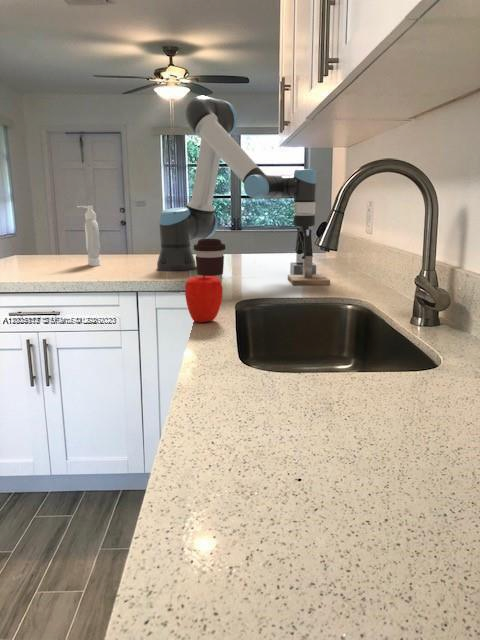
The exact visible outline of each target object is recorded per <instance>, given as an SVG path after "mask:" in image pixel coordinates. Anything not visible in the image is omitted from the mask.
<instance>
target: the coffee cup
mask: <svg viewBox="0 0 480 640" xmlns="http://www.w3.org/2000/svg"><path fill="white" fill-rule="evenodd" d="M197 241H198V242H197V243H196V244H194V245H193V250H194V251H195V267H196V273H197V277H200V276H214V277H217V278H218V279H220V281H221V284H222V285H223V275H224V264H225V263H224V261H225V260H224V259H225V256H224V252H225V250H226V244H225V243H222V241H221V239H219V238H204V239H198V240H197Z"/></svg>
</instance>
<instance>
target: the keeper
mask: <svg viewBox="0 0 480 640" xmlns="http://www.w3.org/2000/svg"><path fill="white" fill-rule="evenodd" d="M312 263H313V257H312V256H305V275H291V274H288V275H287V280H288V281H289V282H290V283H291V285H292V286H320V285H321V286H327V285H328V286H331V280H330V278H328V277H327V276H326V275H323V274H322V273H321V274H319V273H318V274H317V273H316V274H313V275H312Z"/></svg>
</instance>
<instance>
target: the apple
mask: <svg viewBox="0 0 480 640" xmlns="http://www.w3.org/2000/svg"><path fill="white" fill-rule="evenodd" d="M184 285H185V287H184V288H185V291H184V295H185V301H186V306H187V308H188V313H189V316H190V318H191V319H192V320H193V322H195V323H197V322H198V324H200V323H206V322H210V321H211V322H212V321H213V320H215V319H216V317H217V315H218V313H219V311H220V309H221V305H222V301H223V290H224V289H223V283H222V284H221V281H220V279H218V278H217V277H214V276H200V277H198V276H193V277H189V278H188V279H187V280H186V282H185V284H184Z"/></svg>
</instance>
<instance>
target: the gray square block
mask: <svg viewBox="0 0 480 640" xmlns="http://www.w3.org/2000/svg"><path fill="white" fill-rule="evenodd" d="M289 265H290V267H289V270H290V272H289V273H290V274H289V275H303V262H295V261H294V262H290V264H289ZM313 274H317V264H315V263H314V262H312V275H313Z"/></svg>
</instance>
